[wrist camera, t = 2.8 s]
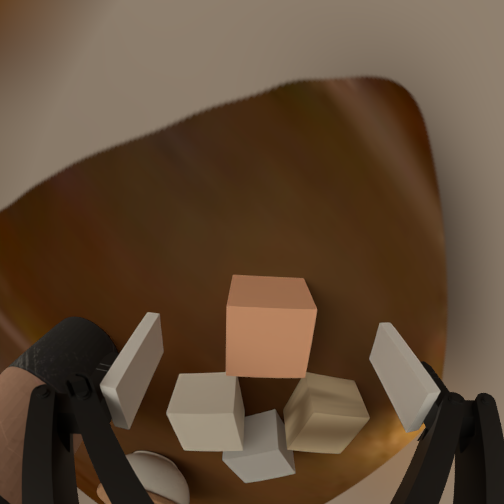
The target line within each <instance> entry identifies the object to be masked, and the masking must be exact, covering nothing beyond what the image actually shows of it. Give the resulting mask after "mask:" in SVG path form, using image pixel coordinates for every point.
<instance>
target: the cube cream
mask: <svg viewBox="0 0 504 504" xmlns="http://www.w3.org/2000/svg"><path fill="white" fill-rule="evenodd" d="M166 414H167V416H168V418H169V420H170V422H171V425H172V427H173V429H174V431H175V433H176V435H177V437H178V439H179V441H180V443H181V445H182V447H183V449H184V450H188V451H243V442H244V417H245V409H244V405H243V400H242V395H241V390H240V385H239V380H238V376H226V372H219V373H193V374H179V377H178V380H177V382H176V385H175V388H174V391H173V394H172V397H171V400H170V403H169V406H168V409H167V412H166Z"/></svg>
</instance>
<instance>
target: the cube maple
mask: <svg viewBox="0 0 504 504" xmlns="http://www.w3.org/2000/svg"><path fill="white" fill-rule="evenodd" d="M283 414H284V423H285V433H286V442H287V450H295V451H305V452H317V453H334V454H340V453H341V452H342V451H343V450H344V449H345V447H346V446H347V445H348V444H349V443H350V442H351V441H352V439H353V438H354V437H355V436H356V435H357V434H358V432H359V431H360V430H361V429H362V428H363V426H364V425H365V424H366V423H367V421H368V420H369V419H370V417H369V414H368V412H367V409H366V407H365V405H364V402H363V400H362V398H361V395H360V393H359V391H358V388H357V386H356V384H355V381H353V380H347V379H341V378H335V377H329V376H324V375H319V374H314V373H309V372H306V375H305V378H301V380H300V381H299V383H298V385H297V387H296V388H295V390H294V392H293V394H292V395H291V397H290V399H289V401H288V402H287V404H286V406H285V407H284V409H283Z"/></svg>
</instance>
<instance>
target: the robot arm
mask: <svg viewBox="0 0 504 504" xmlns="http://www.w3.org/2000/svg"><path fill="white" fill-rule="evenodd" d="M163 352H164V350H163V342H162V333H161V323H160V314H158V313H149V312H147V314H146V315H145V317H144V318H143V319H142V321H141V322H140V324H139V325H138V327H137V328H136V330H135V331H134V333H133V334H132V336H131V337H130V339H129V340H128V342H127V343H126V345H125V346H124V348H123V349H122V351H121V352H120V354H119V353H113V352H111V353H109V354H108V355H106V356H105V357H104V358H103V359H102V361H101V362H100V364H99V365H98V366H97V368H96V369H95V371H94V372H93V373H92V375H91V376H89V374H87V373H85V372H74V373H71V374H69V375H68V376H67V377H66V378H65V380H64V386H65V388H66V391H67V393H56V392H55V389H54V388H53V387H52V386H50V385H47V384H42V385H39V386H36V387H35V388H34V389H33V390H32V392H31V396H30V402H29V407H28V414H27V420H26V428H25V436H24V446H23V459H22V504H79V500H78V493H77V485H76V476H75V464H74V448H73V434H81V436H82V438H83V441H84V444H85V446H86V449H87V452H88V454H89V457H90V459H91V461H92V464H93V466H94V468H95V471H96V473H97V475H98V477H99V480H100V482H101V484H102V486H103V488H104V490H105V492H106V494H107V496H108V498H109V500H110V502H111V504H155V503H154V502H153V501H152V499H151V498H150V496H149V494H148V493H147V491H146V490H145V488H144V487H143V485H142V483H141V482H140V480H139V478H138V477H137V475H136V473H135V472H134V470H133V468H132V467H131V465H130V463H129V461H128V459H127V458H126V456H125V454H124V452H123V450H122V448H121V446H120V444H119V442H118V440H117V438H116V436H115V434H114V432H113V430H112V428H111V426H110V424H109V423H110V421H111V419H112V421H113V423H114V426H117V427H120V428H124V429H128V430H129V429H130V427H131V425H132V422H133V420H134V417H135V415H136V413H137V410H138V408H139V406H140V404H141V401H142V399H143V397H144V394H145V392H146V390H147V388H148V385H149V383H150V381H151V379H152V376H153V374H154V372H155V370H156V367H157V365H158V363H159V361H160V359H161V356H162V354H163ZM369 360H370V362H371V363H372V365H373V367H374V369H375V371H376V373H377V375H378V377H379V379H380V381H381V383H382V385H383V387H384V389H385V391H386V392H387V394H388V396H389V398H390V400H391V402H392V404H393V406H394V409H395V411H396V413H397V415H398V417H399V419H400V421H401V423H402V425H403V427H404V429H405V431H406V433H407V432H412V431H416V430H419V428H420V427H421V425H422V423H423V422H424V424H425V426H426V428H425V429H424V431H423V433H422V434H421V436H420V437H419V439H418V441H419V440H420V441H419V444H418V446H417V449H416V451H415V454H414V456H413V458H412V460H411V463H410V465H409V467H408V469H407V472H406V474H405V476H404V478H403V480H402V482H401V484H400V486H399V488H398V490H397V492H396V494H395V496H394V497H393V500H392V501H391V503H390V504H439V501H440V499H441V496H442V493H443V491H444V488H445V485H446V482H447V479H448V475H449V472H450V469H451V465H452V462H453V459H454V455H455V483H454V499H453V504H504V438H503V433H502V428H501V423H500V419H499V414H498V410H497V406H496V402H495V400H494V398H493V397H492V396H491V395H489V394H487V393H480V394H478V396H477V397H476V399H475V400H471V401H470V400H464V398H463V397H462V396H461V395H460V394H457V393H454V392H449V391H448V389H447V388H446V386H445V385H444V384H443V382H442V381H441V379H440V378H438V375H437V374H436V373H435V371H434V370H433V369H432V367H431V366H430V365H428V364H427V363H426V362H424V361H423V362H420V361H419V360H418V359H417V357H416V356H415V354H414V353H413V352H412V350H411V349H410V348H409V346H408V345H407V344H406V342H405V341H404V340H403V338H402V337H401V336H400V334H399V333H398V332H397V331H396V329H395V328H394V327H393V325H392V324H391V323H380V324H379V327H378V331H377V335H376V338H375V341H374V345H373V348H372V351H371V355H370V358H369Z"/></svg>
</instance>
